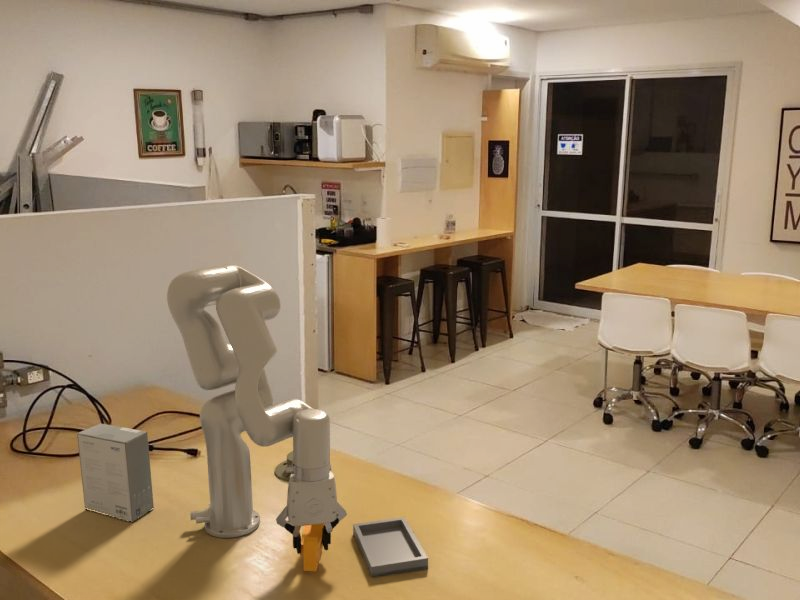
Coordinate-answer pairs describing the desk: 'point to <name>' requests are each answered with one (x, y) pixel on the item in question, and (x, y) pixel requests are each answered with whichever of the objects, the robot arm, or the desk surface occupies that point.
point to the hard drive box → (116, 471)
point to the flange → (281, 468)
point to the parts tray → (389, 547)
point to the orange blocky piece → (311, 546)
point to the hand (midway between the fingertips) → (311, 547)
